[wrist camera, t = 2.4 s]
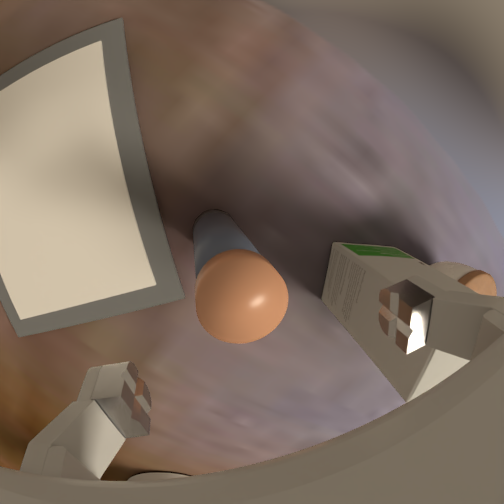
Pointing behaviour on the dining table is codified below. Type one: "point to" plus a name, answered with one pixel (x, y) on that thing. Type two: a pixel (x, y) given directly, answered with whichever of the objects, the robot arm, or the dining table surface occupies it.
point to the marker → (234, 282)
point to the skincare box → (368, 306)
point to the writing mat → (77, 190)
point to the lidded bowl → (468, 277)
